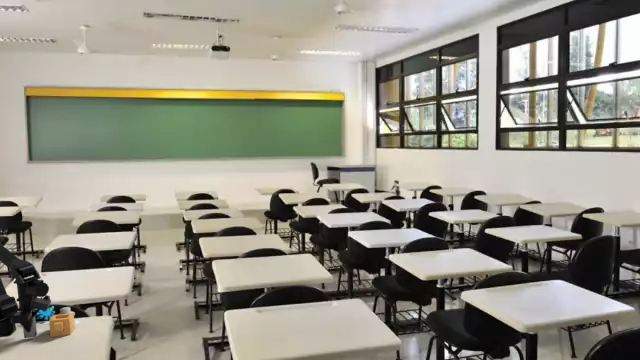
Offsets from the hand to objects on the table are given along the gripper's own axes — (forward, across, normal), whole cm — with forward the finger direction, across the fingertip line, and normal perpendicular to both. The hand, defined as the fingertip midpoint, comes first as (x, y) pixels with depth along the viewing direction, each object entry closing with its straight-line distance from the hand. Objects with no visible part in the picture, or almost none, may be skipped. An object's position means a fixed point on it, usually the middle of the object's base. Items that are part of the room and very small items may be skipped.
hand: (30, 330), depth 204 cm
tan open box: (+4, +5, -11) cm, 13 cm away
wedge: (+3, 0, 0) cm, 3 cm away
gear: (+4, +22, +1) cm, 23 cm away
